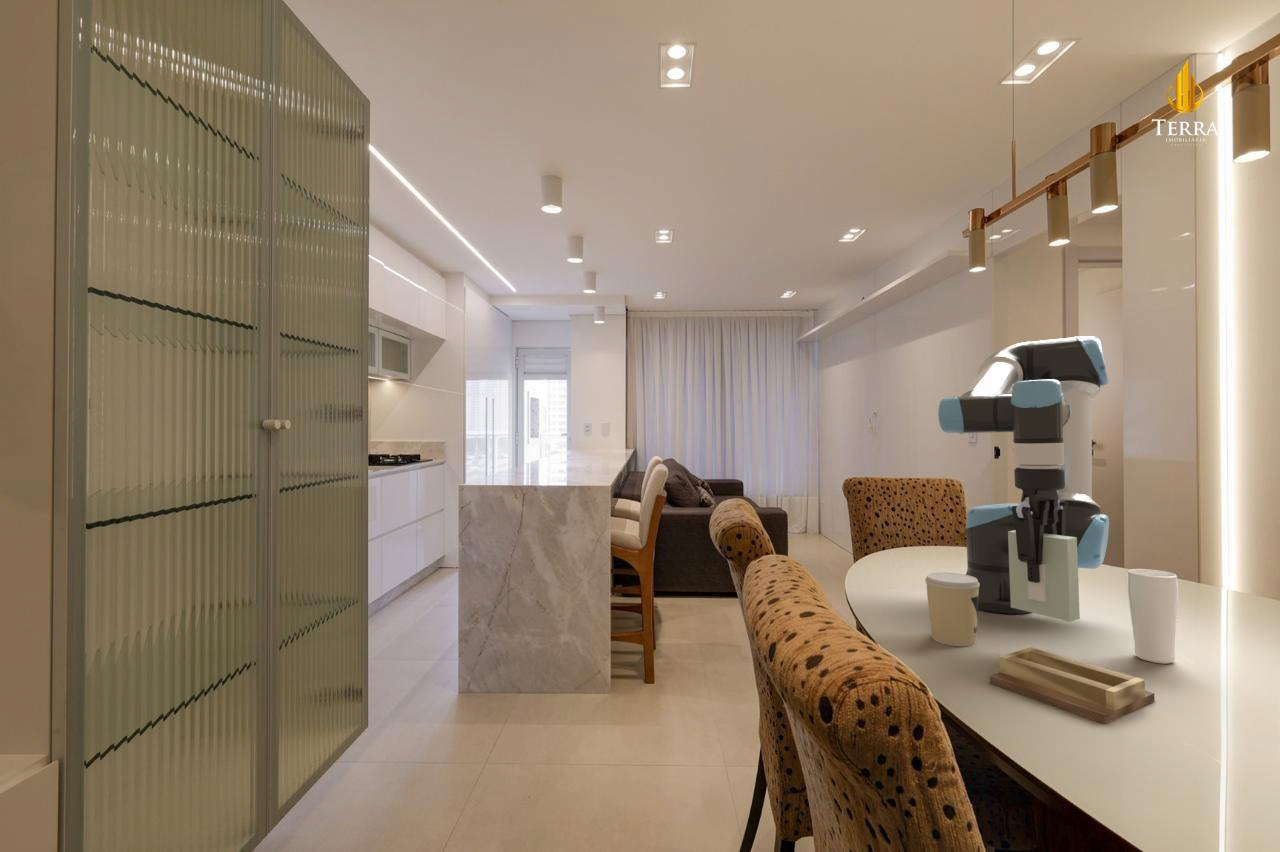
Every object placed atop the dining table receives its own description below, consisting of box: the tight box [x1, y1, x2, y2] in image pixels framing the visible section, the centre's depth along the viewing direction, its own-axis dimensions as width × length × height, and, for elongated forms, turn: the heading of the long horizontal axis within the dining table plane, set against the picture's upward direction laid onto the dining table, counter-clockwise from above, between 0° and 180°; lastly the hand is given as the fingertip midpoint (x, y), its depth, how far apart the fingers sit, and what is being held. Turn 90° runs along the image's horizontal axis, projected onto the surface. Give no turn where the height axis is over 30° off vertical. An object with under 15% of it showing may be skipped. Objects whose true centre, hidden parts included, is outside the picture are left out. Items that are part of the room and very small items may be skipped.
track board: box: [989, 646, 1155, 725], centre depth 93 cm, size 14×16×4 cm
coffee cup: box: [925, 572, 980, 647], centre depth 118 cm, size 9×9×12 cm
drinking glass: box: [1126, 568, 1179, 665], centre depth 106 cm, size 7×7×15 cm
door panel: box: [1008, 530, 1081, 623], centre depth 108 cm, size 3×10×14 cm, turn 28°
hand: (1043, 597), depth 108 cm, fingers closed on door panel, 3 cm apart
